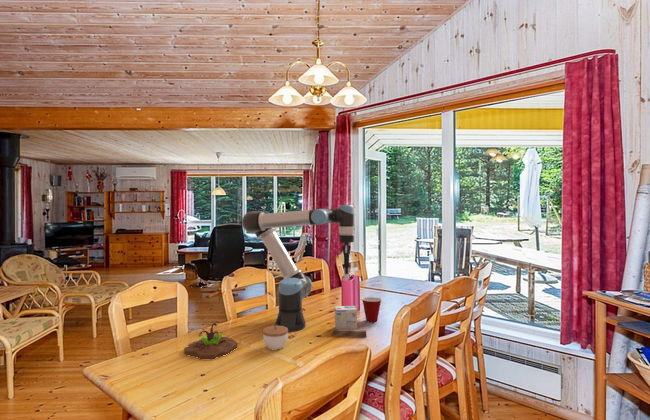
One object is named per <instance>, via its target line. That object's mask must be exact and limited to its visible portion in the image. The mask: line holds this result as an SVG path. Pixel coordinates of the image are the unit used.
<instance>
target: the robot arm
mask: <svg viewBox="0 0 650 420" xmlns="http://www.w3.org/2000/svg"><path fill="white" fill-rule="evenodd" d="M354 212H355V210H354V206H353V205H352V204H340V205H339V206H338V208H316V209H305V210H296V211H293V210H291V211H282V212H271V213H270V212H268V211H266V210H255V211H254V210H252V211H248V212H247V213H245V214H244V215H243V217H242V218H241V219H242V221H241V226H242V228H243V229H244V230H245V231H246V232H248V233H251V234H255V236H256V238H257V240H262V242H263V244H264V245H265V248H266V250H267V251H268V252H269V254H270V256H271V258H272V259H273V262H274V263H275V264H276V266H277V268H278V270H279V271H280V273H281V275H282V277H283V279H281V280H280V281H279V283H278V312H277V316H276V320H275V325H274V326H284V327H287V328H288V332H297V331H300V330H304V329H305V327H306V319H305V315H304V312H303V299H305V298H307V297H308V296H309V295H310V294H311V291H312V290H313V283H312V280H311V278H310V277H309V276H307V275H305V274H304V272H303V271H302V269H298V267H297V266H296V264H295V262H294V261H293V259H292V257H291V255H290V254H289V253H288V250H287V249H286V247H285V246H284V244H283V243H282V241H281V238H280V237H279V235H278V233H277V232H276V231H277V230H276V229H277V228H278V229H279V228H287V227H289V228H290V227H301V226H315V225H316V226H321V225H324V224H339V226H338V231H339V232H338V233H339V238H338V239H339V242H340V243H343V245H342V250H343V251H342V254H343V266H342V268H343V280H344V281H350V267H351V265H350V254H351V246H352V245H350V243H354V241H355V236H354V231H355V230H356V228H355V227H354V223H355V222H354V221H355V220H354V219H355V213H354Z"/></svg>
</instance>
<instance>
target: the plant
mask: <svg viewBox="0 0 650 420" xmlns="http://www.w3.org/2000/svg"><path fill="white" fill-rule="evenodd" d="M218 326H219V323H218V322H213V323H212V325H211V326H210V330H209V331H210V332H209V331H208V330H202V331H200V332H199V333H198V335H197V336H198V338H199V339H198V340H197V341H193V342H192V343H188V346H185V347H184V349H183V351H184V353H185V354H186V355H185V354H184V355H185V356H187V355H190V356H189V357H192V356H195V357H194V358H196V357H198V358H200V359H215V358H216V357H219V356H223V355H226V354H228V353H229V354H231V353H232V352H234V351H235V350H234V349H236V348H237V347H238V345H239V344H238V343H237V342H236V340H235V339H234V338H231V337H228V336H223V335H224V333H220V332H219V331H214V327H218ZM202 333H205V334H204V335H203V336H204V337H203V336H202ZM238 348H239V347H238ZM238 348H237V349H238ZM237 349H236V350H237ZM233 350H234V351H233ZM231 351H232V352H231ZM230 352H231V353H230ZM229 354H228V355H229ZM226 356H227V355H226ZM223 357H224V356H223ZM198 358H197V359H198ZM219 358H220V357H219ZM200 359H199V360H200ZM215 360H216V359H215Z"/></svg>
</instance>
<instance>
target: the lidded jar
mask: <svg viewBox="0 0 650 420" xmlns="http://www.w3.org/2000/svg"><path fill="white" fill-rule="evenodd" d="M262 335H263V337H262V339H263V342H264V345H265V346H266V347H267V348H268V349H269V350H270V349H273V350H272V351H278V350H277V349H280V350H282V349H283V348H282V347H284V346H285V345H286V343H287V342H288V336H289V331H288V328H287V327H284V326H275V325H270V326H267V327H265V328H264V329H262ZM281 348H282V349H281Z"/></svg>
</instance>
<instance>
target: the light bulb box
mask: <svg viewBox="0 0 650 420" xmlns="http://www.w3.org/2000/svg"><path fill="white" fill-rule="evenodd" d="M357 313H358V310H357V307H356V305H338V306H337V305H335V306H334V322H335V323H334V324H335V325H334V329H345V330H358V314H357Z"/></svg>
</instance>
